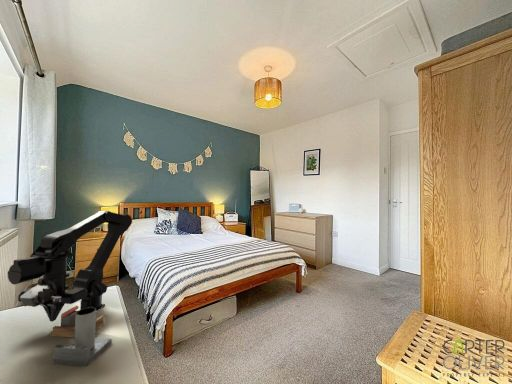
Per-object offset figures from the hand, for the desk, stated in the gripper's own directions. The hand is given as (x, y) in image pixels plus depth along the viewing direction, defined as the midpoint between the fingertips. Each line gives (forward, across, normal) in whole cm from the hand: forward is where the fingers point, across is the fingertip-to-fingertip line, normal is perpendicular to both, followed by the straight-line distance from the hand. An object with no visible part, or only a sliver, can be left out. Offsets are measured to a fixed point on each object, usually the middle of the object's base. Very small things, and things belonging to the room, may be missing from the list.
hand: (52, 320), depth 71 cm
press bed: (+3, +19, -9) cm, 22 cm away
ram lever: (+1, +6, 0) cm, 6 cm away
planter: (+2, +19, -9) cm, 21 cm away
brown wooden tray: (+3, +9, 0) cm, 9 cm away
